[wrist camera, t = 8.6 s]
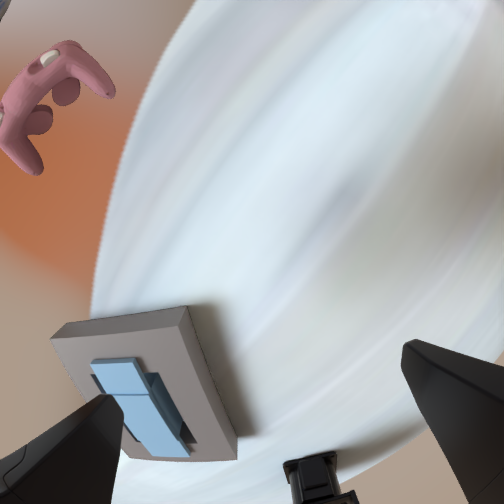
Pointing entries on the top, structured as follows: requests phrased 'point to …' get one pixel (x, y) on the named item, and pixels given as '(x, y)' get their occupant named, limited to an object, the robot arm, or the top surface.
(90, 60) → the video game controller
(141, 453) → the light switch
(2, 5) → the ramen bowl
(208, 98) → the top surface
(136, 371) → the light blue bar
